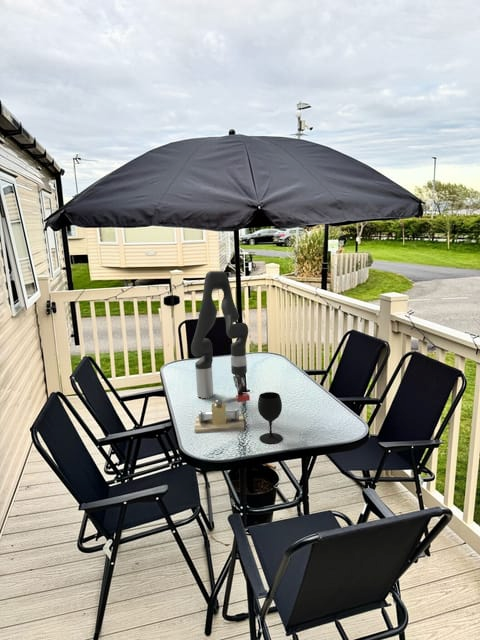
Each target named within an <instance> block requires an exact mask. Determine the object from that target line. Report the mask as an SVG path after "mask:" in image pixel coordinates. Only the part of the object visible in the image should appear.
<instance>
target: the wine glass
mask: <svg viewBox="0 0 480 640" xmlns="http://www.w3.org/2000/svg"><path fill="white" fill-rule="evenodd" d="M258 396H259V397H258V401H257V410H258V413H259V415H260V416H261V417H262V418H263V420H265V421H267V422H268V424H269V432H267V433H263V434H260V436H259V441H260V442H261V443H263V444H265V445H266V444H267V445H275V444H279V443H280V442H282V441H283V440H284V438H283V436H282V435H281V434H280V433H277V432H273V429H272V428H273V422H274V421H275V420H277V419H278V418H279V416H280V415H281V412H282V409H283V404H282V398H281V396H280V394H279V393H278V392H274V391H267V392H262V393H260V394H259V395H258Z"/></svg>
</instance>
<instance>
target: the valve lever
mask: <svg viewBox="0 0 480 640" xmlns="http://www.w3.org/2000/svg"><path fill="white" fill-rule="evenodd" d="M250 397H251V396H250V394H249V393H243V394H242V395H238V394H237V395H235V396H234V397H233V396H232V397H229V398H223V399H221V398H217V399H215V400H214V403H215V405H216V406H221V405H222V404H225V405H226V404H229V403H235V402H236V403H243V402H248V401H250V400H251V399H250Z"/></svg>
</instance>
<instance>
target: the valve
mask: <svg viewBox="0 0 480 640" xmlns="http://www.w3.org/2000/svg"><path fill="white" fill-rule="evenodd" d="M226 407H227V405H226V404H222V405H221V406H216V405H215V402H214V403H212V404H211V411H201V410H199V411H198V416H199V423H202V422H204V424H208V421H212V422H213V425H215V424H226V420H231V423H235V420H237V421H239V414H240V409H239V408H236V410H227V409H226Z"/></svg>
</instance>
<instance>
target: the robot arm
mask: <svg viewBox="0 0 480 640" xmlns="http://www.w3.org/2000/svg"><path fill="white" fill-rule="evenodd" d="M204 277H205V278H204V284H203V294H202V299H201V303H200V304H201V305H200V309H199V312H198V313H199V314H198V318H197V319H198V320H197V324H196V328H195V333H194V336H193V339H192V342H191V344H190V346H191V347H190V352H191V354H192V356H194V357H198V358H199V357H200V358H199V359H198V360H197V361H195V378H196V395H198V396H197V398H198V397H201V398H200V399H202V398H206V399H209V398H208V397H211V398H213V397H214V396H213V395H214V382H213V381H214V380H213V362H214V361H213V357H214V355H213V354H214V353H213V350H214V349H213V343H212V341H211V340H210V339H209V338H208V337H207V338H206V336H207V334H208V333H209V332H210V330H211V329H212V328H213V326H214V325H215V324H216V320H217V315H218V309H217V305H216V304H215V302H214V300H213V296H212V295H213V291H214V290H221V291H222V293H223V297H222V300H221V307H220V309H221V312H222V314H223V317H224V320H225V329H226V331H225V332H226V336H227V337H228V338H229V339H232V340H233V339H238V340H236V341H235V342H232V343H231V344H230V365H231V366H230V368H231V371H230V372H231V374H233V377H232V379H233V382H234V386H235V388H236V390H237V395H242V394H244V393H243V391H245V389H246V386H247V382H245V374H247V372H248V367H247V365H248V363H247V362H248V361H247V353H246V345H247V342H248V341H247V340H248V337H249V327H248V325H247V323H245V322H238V323H237V321H239V319H240V314H239V312H238V309H237V307H236V305H235V302H234V301H235V300H234V298H233V293H232V289H231V284H230V280H229V277H228V274H227V273H226V272H225V271H222V270H212V271H211V270H210V271H207V272H206V275H205V276H204ZM212 396H213V397H212Z"/></svg>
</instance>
